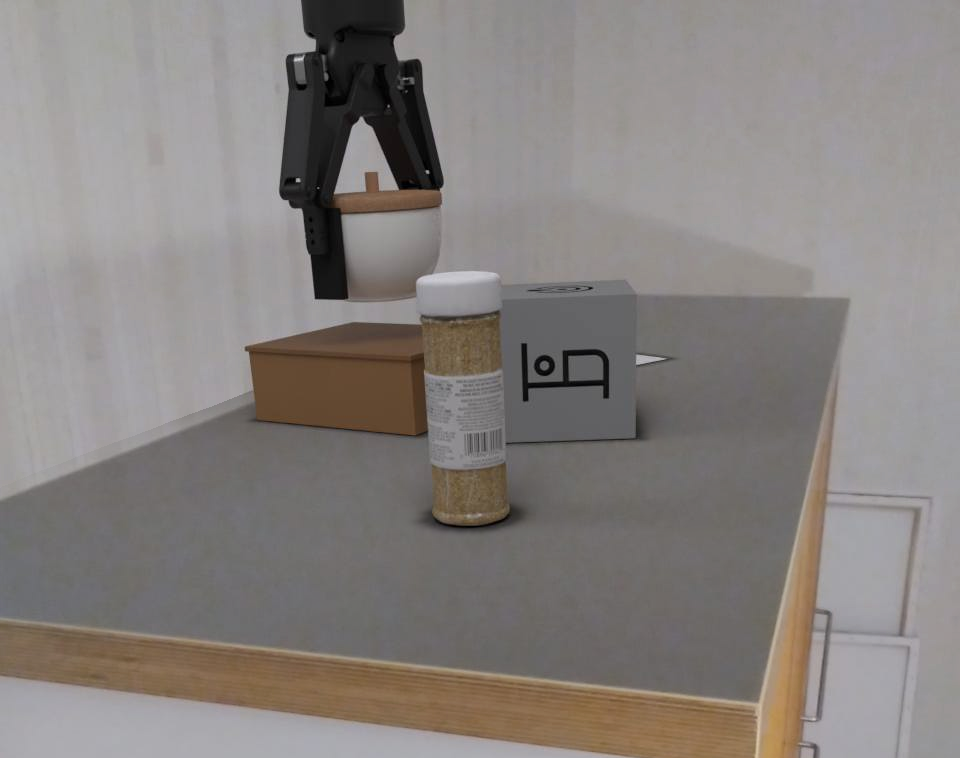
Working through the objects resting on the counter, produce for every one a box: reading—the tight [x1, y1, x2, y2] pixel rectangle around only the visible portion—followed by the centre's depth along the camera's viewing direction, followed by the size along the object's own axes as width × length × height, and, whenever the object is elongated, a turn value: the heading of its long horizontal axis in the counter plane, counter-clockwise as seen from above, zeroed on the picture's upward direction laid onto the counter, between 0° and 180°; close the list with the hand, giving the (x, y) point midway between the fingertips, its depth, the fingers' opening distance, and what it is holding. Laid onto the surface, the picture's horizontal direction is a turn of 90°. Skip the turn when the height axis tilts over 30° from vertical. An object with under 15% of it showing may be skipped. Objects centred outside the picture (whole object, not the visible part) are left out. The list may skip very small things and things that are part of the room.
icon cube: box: [499, 279, 638, 444], centre depth 84 cm, size 10×10×10 cm
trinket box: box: [329, 171, 443, 303], centre depth 88 cm, size 11×11×9 cm
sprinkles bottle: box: [416, 270, 511, 527], centre depth 62 cm, size 5×5×13 cm
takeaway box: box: [244, 321, 428, 437], centre depth 93 cm, size 16×14×6 cm
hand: (375, 290), depth 90 cm, fingers closed on trinket box, 11 cm apart
